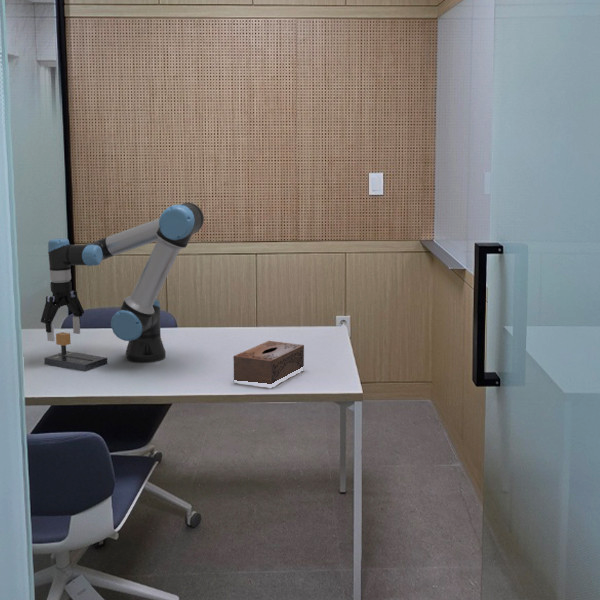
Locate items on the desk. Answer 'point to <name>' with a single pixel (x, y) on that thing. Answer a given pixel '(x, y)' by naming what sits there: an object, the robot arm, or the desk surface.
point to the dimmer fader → (63, 341)
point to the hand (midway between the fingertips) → (64, 337)
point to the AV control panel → (76, 361)
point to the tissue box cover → (268, 362)
